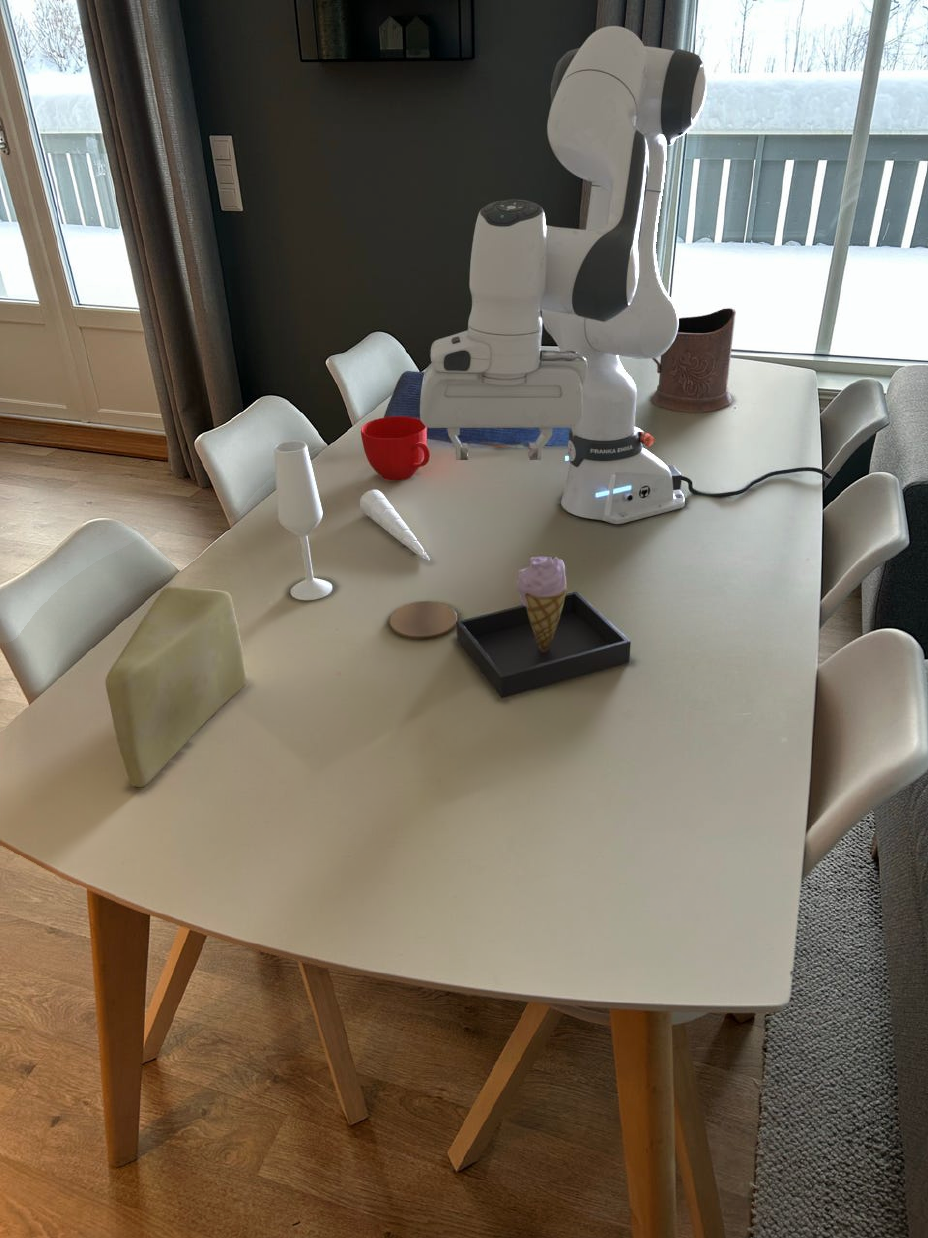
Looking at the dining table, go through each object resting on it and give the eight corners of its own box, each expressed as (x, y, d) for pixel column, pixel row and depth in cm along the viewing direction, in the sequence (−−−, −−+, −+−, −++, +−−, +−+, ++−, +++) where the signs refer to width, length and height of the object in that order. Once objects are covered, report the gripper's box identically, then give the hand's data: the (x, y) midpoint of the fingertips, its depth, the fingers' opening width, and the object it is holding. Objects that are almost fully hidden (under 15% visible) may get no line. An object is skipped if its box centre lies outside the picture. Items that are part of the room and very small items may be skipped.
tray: (575, 610, 136) (576, 591, 134) (629, 661, 123) (630, 641, 122) (457, 641, 130) (456, 621, 128) (501, 698, 118) (501, 677, 116)
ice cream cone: (532, 667, 123) (532, 570, 115) (509, 645, 128) (507, 550, 120) (573, 653, 125) (576, 557, 117) (549, 632, 130) (550, 538, 122)
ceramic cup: (404, 499, 173) (400, 449, 167) (352, 475, 184) (347, 427, 178) (455, 479, 180) (453, 431, 174) (403, 457, 191) (399, 411, 186)
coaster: (448, 599, 140) (448, 596, 139) (464, 632, 131) (464, 629, 131) (384, 610, 138) (384, 607, 138) (397, 644, 129) (396, 641, 129)
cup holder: (740, 410, 207) (754, 296, 194) (634, 413, 208) (641, 301, 195) (721, 385, 223) (733, 279, 210) (623, 389, 224) (629, 283, 211)
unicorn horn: (408, 568, 149) (406, 542, 146) (359, 515, 167) (357, 491, 165) (434, 561, 150) (433, 535, 148) (383, 509, 169) (381, 485, 166)
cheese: (175, 794, 104) (146, 689, 97) (99, 785, 106) (65, 681, 98) (251, 683, 123) (232, 587, 115) (185, 676, 125) (162, 581, 117)
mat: (589, 414, 216) (593, 372, 207) (581, 488, 198) (586, 445, 189) (404, 400, 221) (400, 359, 212) (380, 471, 203) (376, 429, 194)
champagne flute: (294, 579, 147) (272, 438, 135) (335, 578, 147) (317, 437, 134) (286, 600, 141) (262, 455, 129) (329, 599, 141) (309, 454, 129)
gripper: (584, 343, 112) (573, 449, 120) (419, 342, 111) (418, 449, 118) (594, 358, 107) (582, 467, 114) (421, 357, 105) (420, 468, 113)
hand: (498, 458), depth 116 cm, fingers open, 8 cm apart
